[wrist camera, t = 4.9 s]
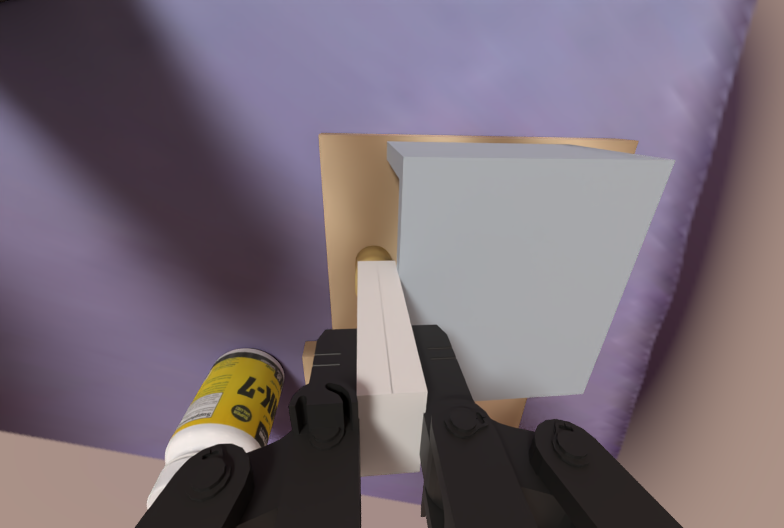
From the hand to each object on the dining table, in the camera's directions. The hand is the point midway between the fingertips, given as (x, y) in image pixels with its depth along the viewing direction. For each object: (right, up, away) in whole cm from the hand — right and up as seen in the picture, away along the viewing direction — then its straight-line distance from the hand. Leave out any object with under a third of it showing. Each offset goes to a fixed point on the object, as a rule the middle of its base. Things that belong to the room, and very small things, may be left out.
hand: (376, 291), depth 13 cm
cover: (+5, +2, +4) cm, 7 cm away
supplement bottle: (-9, -6, +9) cm, 14 cm away
